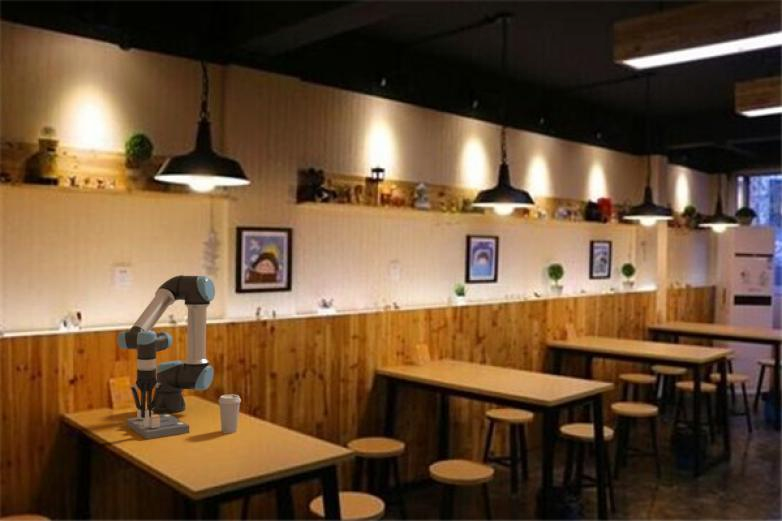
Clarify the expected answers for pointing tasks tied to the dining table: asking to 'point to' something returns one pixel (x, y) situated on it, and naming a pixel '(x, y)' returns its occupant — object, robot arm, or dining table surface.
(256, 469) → the dining table surface
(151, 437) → the switch unit
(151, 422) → the slider
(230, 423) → the coffee cup
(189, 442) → the dining table surface
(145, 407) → the slider
